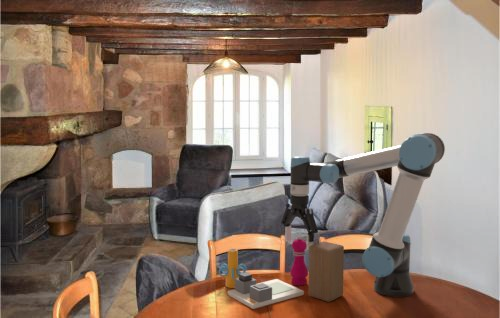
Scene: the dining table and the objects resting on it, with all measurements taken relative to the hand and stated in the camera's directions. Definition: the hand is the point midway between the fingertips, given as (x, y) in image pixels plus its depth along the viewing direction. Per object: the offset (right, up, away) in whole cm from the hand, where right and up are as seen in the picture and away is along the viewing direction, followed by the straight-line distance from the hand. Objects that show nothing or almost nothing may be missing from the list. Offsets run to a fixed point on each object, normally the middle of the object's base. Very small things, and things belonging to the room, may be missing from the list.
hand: (298, 245), depth 210 cm
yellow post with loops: (-27, -16, -1) cm, 31 cm away
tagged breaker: (-16, -16, -19) cm, 30 cm away
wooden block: (+9, -17, -13) cm, 24 cm away
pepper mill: (0, -16, +2) cm, 16 cm away
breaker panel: (-14, -17, -11) cm, 25 cm away
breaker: (-22, -14, -11) cm, 28 cm away
